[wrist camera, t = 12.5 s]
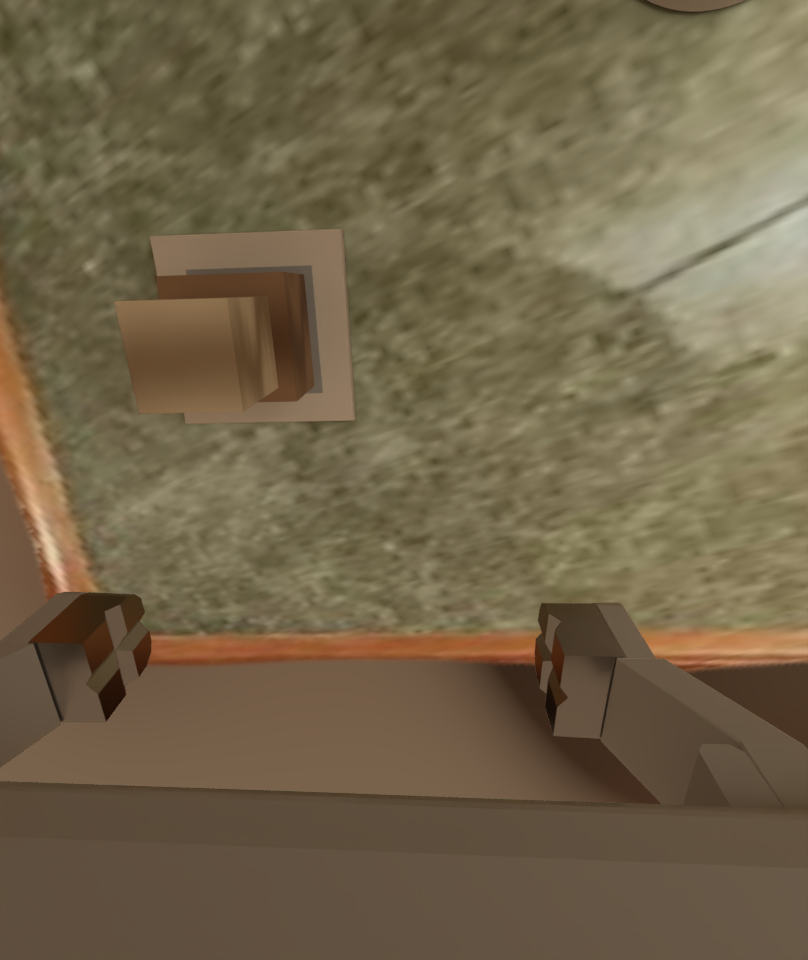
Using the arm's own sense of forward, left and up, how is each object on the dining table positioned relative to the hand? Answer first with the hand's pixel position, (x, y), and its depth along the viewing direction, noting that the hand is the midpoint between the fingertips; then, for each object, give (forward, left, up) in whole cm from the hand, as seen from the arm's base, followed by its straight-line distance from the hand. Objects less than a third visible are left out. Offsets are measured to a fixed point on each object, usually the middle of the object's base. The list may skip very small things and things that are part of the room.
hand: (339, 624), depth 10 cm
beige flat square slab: (-4, -9, -26) cm, 28 cm away
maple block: (-4, -9, -20) cm, 22 cm away
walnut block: (-4, -9, -25) cm, 27 cm away
